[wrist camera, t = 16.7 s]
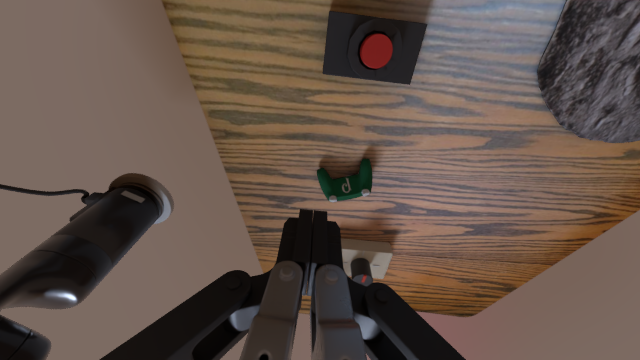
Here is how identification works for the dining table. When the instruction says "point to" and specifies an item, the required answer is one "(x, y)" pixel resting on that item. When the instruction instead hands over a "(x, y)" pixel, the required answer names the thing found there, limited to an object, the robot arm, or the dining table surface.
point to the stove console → (367, 255)
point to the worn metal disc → (595, 70)
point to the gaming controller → (347, 183)
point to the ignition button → (376, 50)
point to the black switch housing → (349, 36)
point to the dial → (361, 271)
